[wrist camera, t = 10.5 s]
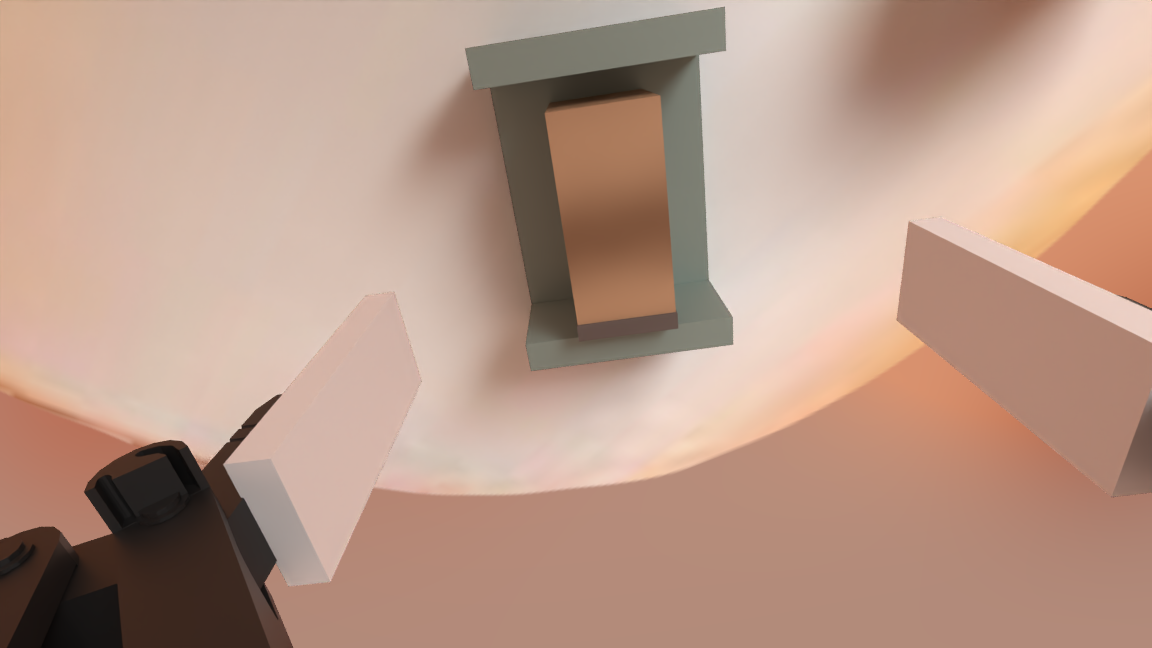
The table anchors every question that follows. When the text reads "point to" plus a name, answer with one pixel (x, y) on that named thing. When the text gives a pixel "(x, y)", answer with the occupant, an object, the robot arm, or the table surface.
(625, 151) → the rail end
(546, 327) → the bracket
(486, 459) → the table surface
